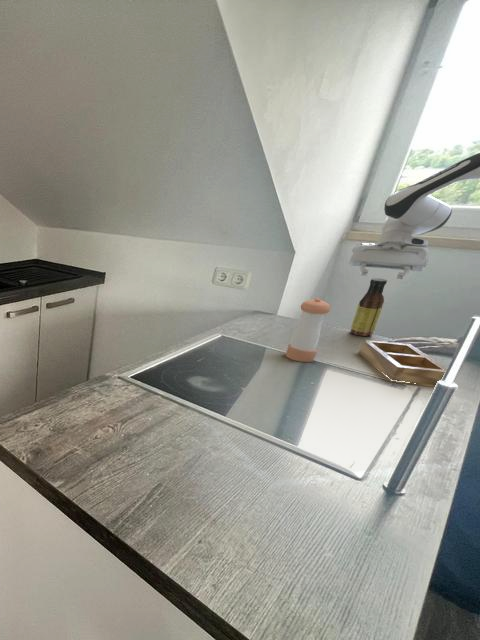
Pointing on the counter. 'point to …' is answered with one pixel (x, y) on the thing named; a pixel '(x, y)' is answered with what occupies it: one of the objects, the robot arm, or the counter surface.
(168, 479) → the counter surface
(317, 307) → the pepper shaker
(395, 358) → the wooden compartment tray
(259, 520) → the counter surface
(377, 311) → the sauce bottle
